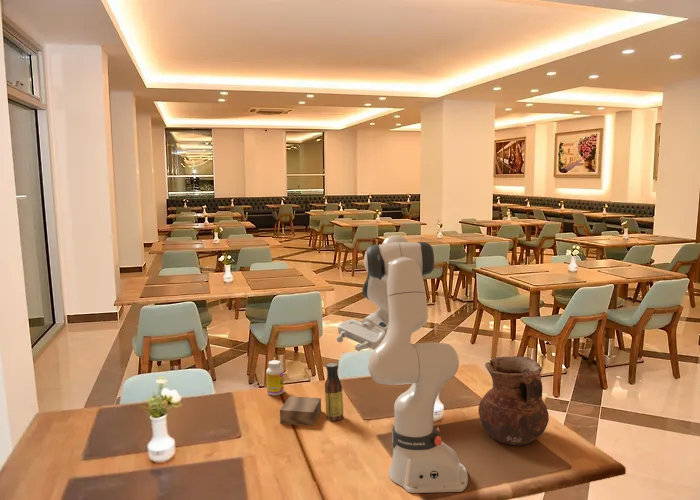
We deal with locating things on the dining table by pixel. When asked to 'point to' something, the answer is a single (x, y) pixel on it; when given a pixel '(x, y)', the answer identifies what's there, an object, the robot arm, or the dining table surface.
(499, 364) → the jug
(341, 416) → the sauce bottle
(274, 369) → the supplement bottle
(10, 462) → the dining table surface
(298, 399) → the walnut block
